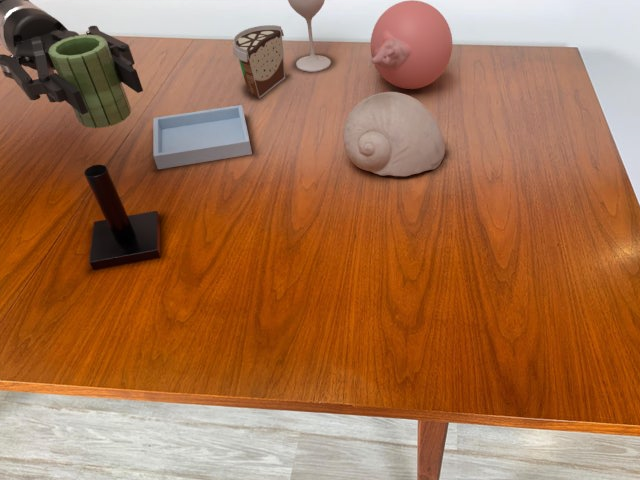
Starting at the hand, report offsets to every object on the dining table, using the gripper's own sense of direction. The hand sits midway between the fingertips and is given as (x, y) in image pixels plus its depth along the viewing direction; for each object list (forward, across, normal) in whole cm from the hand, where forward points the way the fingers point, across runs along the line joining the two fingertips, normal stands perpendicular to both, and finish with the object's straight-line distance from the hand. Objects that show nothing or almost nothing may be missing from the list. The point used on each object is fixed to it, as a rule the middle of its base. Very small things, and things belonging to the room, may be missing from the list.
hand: (109, 91), depth 69 cm
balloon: (-5, -55, -22) cm, 60 cm away
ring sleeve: (-5, 0, -5) cm, 7 cm away
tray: (-17, -17, -22) cm, 33 cm away
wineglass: (-26, -50, -22) cm, 61 cm away
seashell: (+11, -38, -22) cm, 45 cm away
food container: (-27, -37, -22) cm, 51 cm away
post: (-2, +5, -22) cm, 23 cm away
